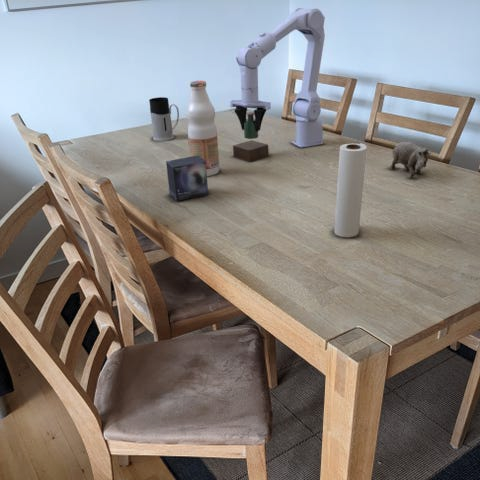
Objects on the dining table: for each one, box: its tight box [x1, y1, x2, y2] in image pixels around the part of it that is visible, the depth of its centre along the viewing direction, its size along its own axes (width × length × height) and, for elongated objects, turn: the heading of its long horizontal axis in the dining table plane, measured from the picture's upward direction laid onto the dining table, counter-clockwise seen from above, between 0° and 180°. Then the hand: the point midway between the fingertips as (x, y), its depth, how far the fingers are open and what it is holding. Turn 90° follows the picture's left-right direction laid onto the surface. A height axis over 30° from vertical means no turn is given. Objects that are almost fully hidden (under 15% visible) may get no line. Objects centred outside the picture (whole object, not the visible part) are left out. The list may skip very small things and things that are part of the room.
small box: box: [165, 155, 209, 202], centre depth 150 cm, size 11×6×10 cm, turn 118°
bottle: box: [243, 111, 259, 140], centre depth 176 cm, size 5×5×8 cm
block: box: [232, 139, 269, 163], centre depth 181 cm, size 9×9×4 cm
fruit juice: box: [185, 80, 220, 177], centre depth 162 cm, size 9×9×28 cm
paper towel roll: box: [333, 142, 368, 238], centre depth 120 cm, size 7×6×21 cm
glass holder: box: [148, 96, 180, 142], centre depth 203 cm, size 9×14×15 cm, turn 54°
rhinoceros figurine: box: [389, 140, 432, 180], centre depth 157 cm, size 8×14×15 cm
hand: (251, 129), depth 177 cm, fingers closed on bottle, 5 cm apart
